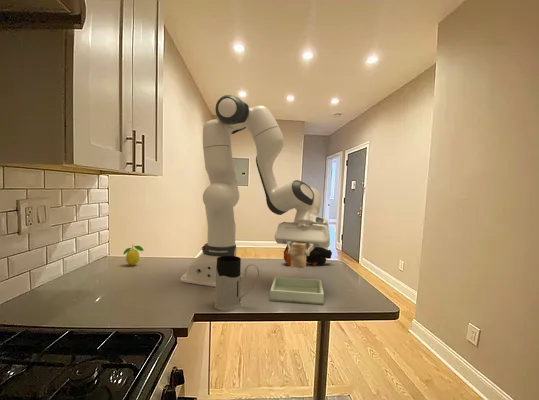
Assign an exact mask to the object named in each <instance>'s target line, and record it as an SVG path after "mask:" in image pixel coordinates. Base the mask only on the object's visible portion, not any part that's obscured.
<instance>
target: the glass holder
mask: <svg viewBox="0 0 539 400" xmlns="http://www.w3.org/2000/svg"><path fill="white" fill-rule="evenodd" d="M241 260H242V259H241V257H240V256H237V255H236V256H221V257H218V258H217V265H216V286H215V295H214V296H215V301H214V303H213V308H214V309H216V310H218V311H221V312H223V311H224V312H230V311H235V310H236V311H237V310H239V309H240V308H242V302H241V300H242V298H243V297H244V296H245V295H247V294H248V293H249V292H250V291H252V290H253V289H254V288H255V286H256V285H257V283H258V281H259V277H260V269H259V266H258V265H256V264H255V263H250V264H248V265H246V267H245V269H244V275H242V273H241V269H242V268H241V264H242V261H241ZM250 266H252V267H253V266H254V267H255V268H256V269H257V278H256V281H255V283H254V285H253V286H252V287H251V288H250V289H248V290H247V291H246V292H245V293H243V294H242V295H241V281H242V280H241V279H242V278H244V277H246V276H247V270H248V268H249V267H250Z"/></svg>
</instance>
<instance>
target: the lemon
mask: <svg viewBox="0 0 539 400" xmlns="http://www.w3.org/2000/svg"><path fill="white" fill-rule="evenodd" d="M139 251H140V252H143V251H145V250H144V248H143V247H142V246H140V245H133V246H132V247H128V248H125V249H124V251H123V253H122V254H123V255H125V261H126V263H127V264H128V265H130V266H132V267H133V266H134V265H136V264H138V263H139V260H140V254H139Z"/></svg>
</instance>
